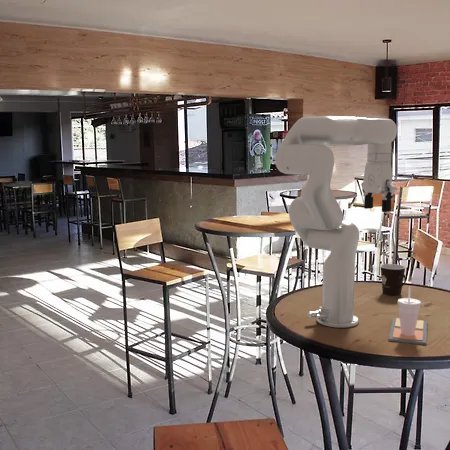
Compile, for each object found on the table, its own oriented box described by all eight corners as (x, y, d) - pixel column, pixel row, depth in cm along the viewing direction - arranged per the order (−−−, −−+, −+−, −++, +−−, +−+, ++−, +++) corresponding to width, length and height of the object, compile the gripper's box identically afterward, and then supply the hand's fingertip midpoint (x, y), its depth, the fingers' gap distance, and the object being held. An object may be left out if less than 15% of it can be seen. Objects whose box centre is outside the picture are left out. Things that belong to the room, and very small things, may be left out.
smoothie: (393, 335, 163) (395, 287, 161) (398, 328, 169) (400, 282, 167) (417, 339, 160) (419, 290, 158) (421, 332, 166) (423, 284, 164)
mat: (426, 344, 159) (426, 341, 158) (388, 340, 162) (388, 337, 162) (427, 322, 177) (427, 319, 177) (393, 319, 180) (393, 316, 180)
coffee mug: (378, 289, 215) (379, 263, 213) (402, 290, 214) (403, 264, 212) (382, 298, 204) (383, 271, 202) (407, 299, 202) (408, 271, 201)
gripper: (354, 157, 197) (352, 207, 199) (385, 159, 181) (383, 213, 183) (372, 157, 199) (371, 206, 202) (405, 159, 183) (403, 212, 186)
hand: (377, 210), depth 193 cm, fingers open, 9 cm apart
